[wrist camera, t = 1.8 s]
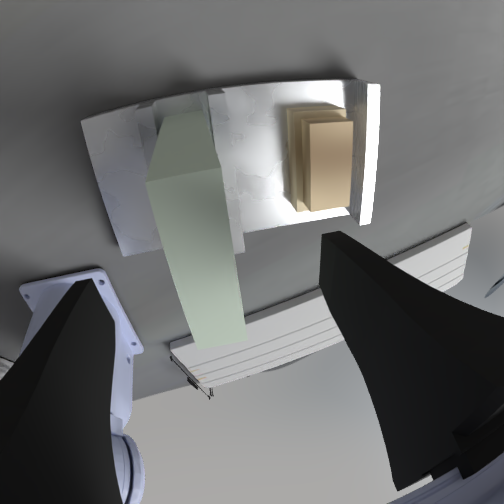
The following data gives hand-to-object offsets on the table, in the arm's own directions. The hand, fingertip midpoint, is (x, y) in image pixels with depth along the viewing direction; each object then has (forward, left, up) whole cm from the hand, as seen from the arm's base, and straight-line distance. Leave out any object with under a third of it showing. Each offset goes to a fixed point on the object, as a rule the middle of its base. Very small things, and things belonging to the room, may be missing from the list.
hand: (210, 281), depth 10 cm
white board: (-17, -10, -11) cm, 23 cm away
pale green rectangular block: (0, 0, -9) cm, 9 cm away
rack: (0, -2, -10) cm, 11 cm away
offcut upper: (0, -7, -8) cm, 11 cm away
